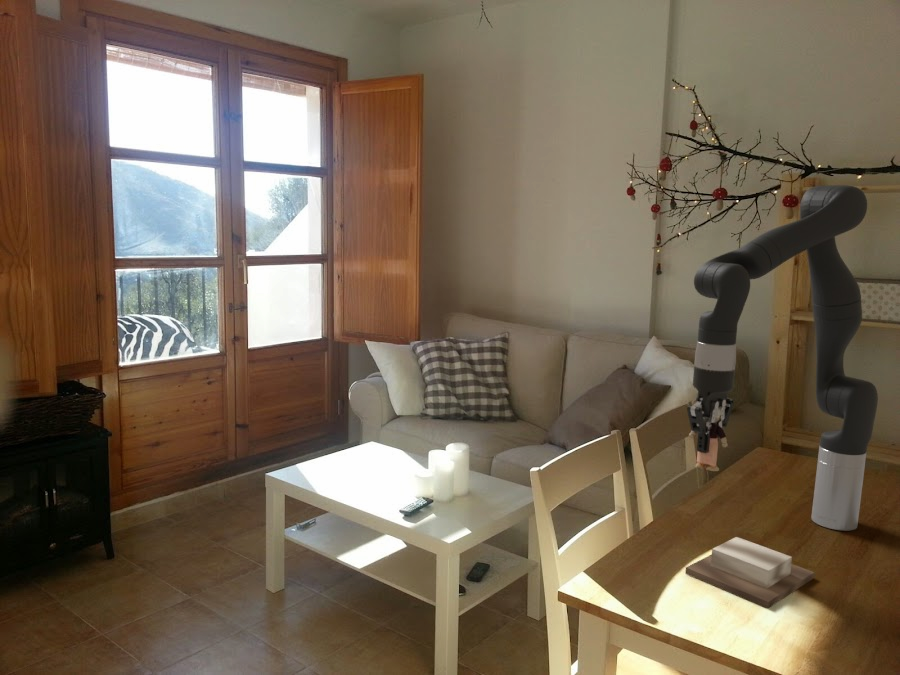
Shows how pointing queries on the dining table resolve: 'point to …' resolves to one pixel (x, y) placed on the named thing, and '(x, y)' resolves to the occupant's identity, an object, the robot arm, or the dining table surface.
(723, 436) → the grandmother figurine
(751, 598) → the plinth
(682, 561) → the dining table surface
